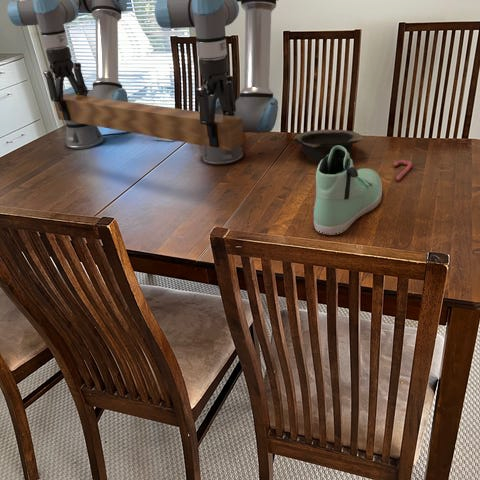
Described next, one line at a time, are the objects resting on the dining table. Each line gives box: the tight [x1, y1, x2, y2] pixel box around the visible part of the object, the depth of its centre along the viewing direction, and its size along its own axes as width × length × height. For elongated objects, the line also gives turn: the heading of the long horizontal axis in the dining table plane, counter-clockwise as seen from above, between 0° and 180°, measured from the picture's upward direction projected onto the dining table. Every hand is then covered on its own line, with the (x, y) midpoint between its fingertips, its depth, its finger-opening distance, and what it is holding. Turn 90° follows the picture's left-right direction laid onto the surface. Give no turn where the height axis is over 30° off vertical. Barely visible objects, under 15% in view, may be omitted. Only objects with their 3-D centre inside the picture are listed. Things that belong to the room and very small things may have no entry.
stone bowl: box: [292, 129, 365, 164], centre depth 172 cm, size 25×25×9 cm
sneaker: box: [313, 146, 383, 236], centre depth 133 cm, size 14×35×20 cm, turn 152°
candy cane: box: [393, 159, 413, 182], centre depth 157 cm, size 6×15×2 cm, turn 145°
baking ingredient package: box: [154, 137, 174, 142], centre depth 205 cm, size 9×1×15 cm
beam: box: [53, 93, 244, 151], centre depth 151 cm, size 75×6×8 cm, turn 56°
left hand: (74, 117), depth 168 cm, fingers closed on beam, 6 cm apart
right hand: (221, 142), depth 136 cm, fingers closed on beam, 6 cm apart
